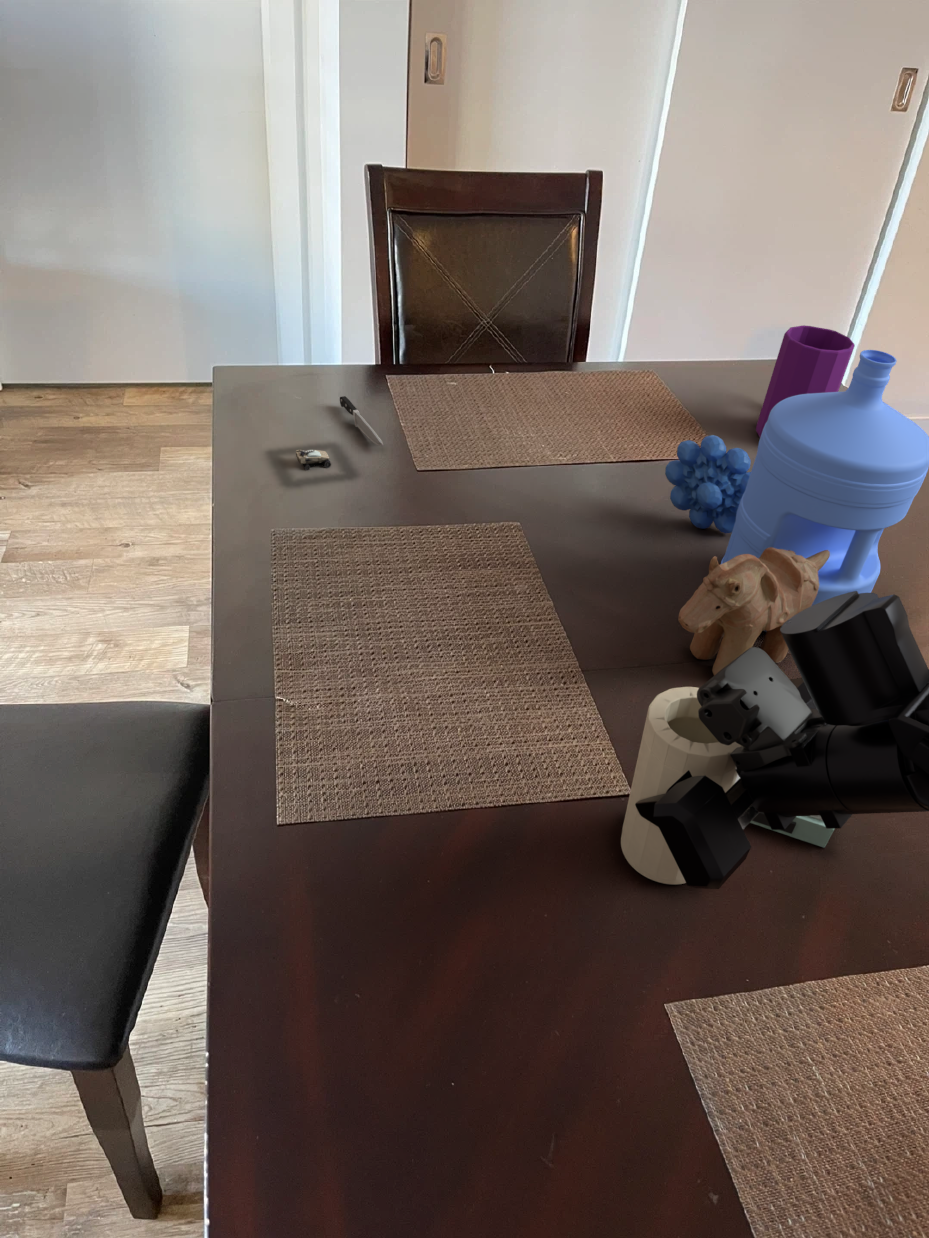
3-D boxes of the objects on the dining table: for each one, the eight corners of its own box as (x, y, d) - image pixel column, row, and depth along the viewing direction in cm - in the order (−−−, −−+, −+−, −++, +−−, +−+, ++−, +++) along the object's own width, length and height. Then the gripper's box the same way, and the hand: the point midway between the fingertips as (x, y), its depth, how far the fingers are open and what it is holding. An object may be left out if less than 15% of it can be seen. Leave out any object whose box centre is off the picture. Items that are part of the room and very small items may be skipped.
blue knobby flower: (645, 532, 109) (667, 442, 101) (658, 505, 114) (680, 418, 106) (743, 559, 106) (772, 468, 98) (751, 530, 111) (780, 442, 103)
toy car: (331, 467, 115) (331, 453, 114) (299, 471, 114) (299, 457, 112) (325, 457, 117) (325, 443, 115) (294, 461, 115) (293, 447, 114)
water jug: (687, 569, 103) (757, 329, 86) (800, 550, 108) (887, 319, 91) (768, 657, 92) (867, 401, 74) (889, 631, 97) (1009, 386, 79)
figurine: (636, 669, 89) (670, 543, 80) (761, 619, 97) (805, 498, 88) (687, 717, 84) (729, 588, 75) (814, 660, 92) (866, 537, 83)
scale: (824, 850, 73) (836, 827, 72) (701, 808, 76) (710, 785, 74) (832, 764, 81) (844, 741, 79) (721, 729, 83) (729, 705, 82)
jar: (722, 839, 73) (763, 712, 65) (689, 899, 68) (728, 770, 60) (643, 800, 76) (672, 674, 68) (605, 856, 71) (632, 727, 63)
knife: (385, 455, 118) (386, 441, 117) (380, 456, 118) (380, 442, 117) (344, 407, 128) (344, 394, 127) (339, 408, 128) (339, 394, 127)
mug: (753, 446, 128) (785, 344, 119) (755, 401, 140) (784, 305, 131) (820, 459, 127) (857, 356, 117) (816, 413, 139) (850, 316, 129)
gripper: (865, 592, 61) (689, 636, 74) (719, 724, 50) (541, 749, 63) (932, 737, 62) (747, 756, 75) (803, 898, 51) (611, 889, 64)
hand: (667, 782), depth 69 cm, fingers closed on jar, 7 cm apart
